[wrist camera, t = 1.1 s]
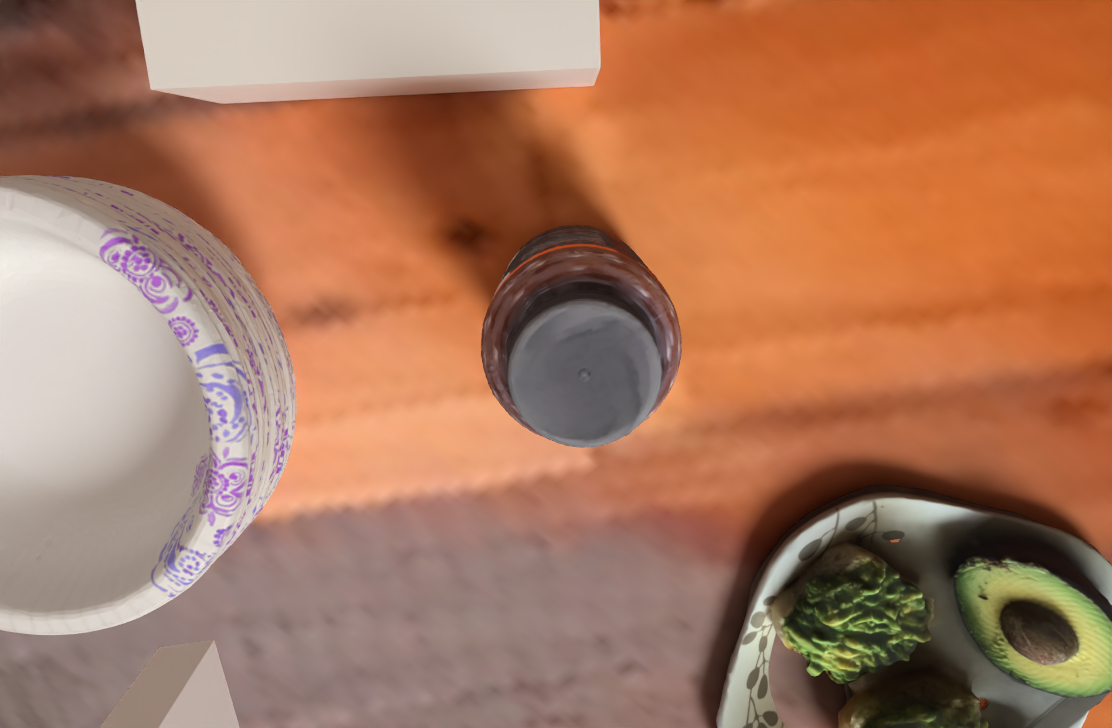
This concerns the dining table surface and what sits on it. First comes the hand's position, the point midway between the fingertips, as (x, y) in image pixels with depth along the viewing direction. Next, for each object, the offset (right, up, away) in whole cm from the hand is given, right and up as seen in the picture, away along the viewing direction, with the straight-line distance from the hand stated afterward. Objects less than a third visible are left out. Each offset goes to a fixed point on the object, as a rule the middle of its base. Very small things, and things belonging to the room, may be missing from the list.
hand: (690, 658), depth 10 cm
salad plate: (+15, -9, +24) cm, 29 cm away
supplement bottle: (-1, +7, +19) cm, 21 cm away
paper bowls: (-19, +4, +20) cm, 28 cm away
